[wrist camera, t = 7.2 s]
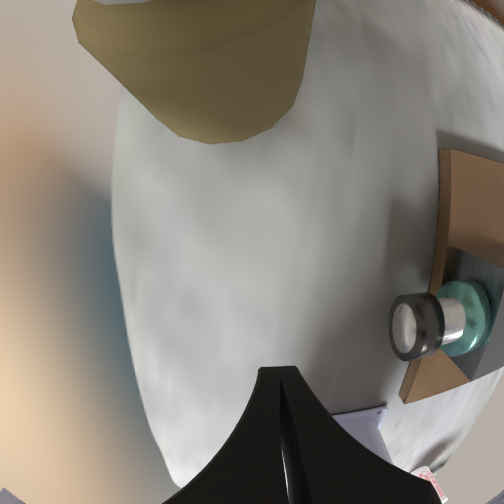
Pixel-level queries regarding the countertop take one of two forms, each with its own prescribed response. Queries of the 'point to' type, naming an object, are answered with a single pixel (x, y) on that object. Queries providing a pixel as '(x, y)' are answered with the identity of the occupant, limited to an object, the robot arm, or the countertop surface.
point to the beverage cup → (427, 475)
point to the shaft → (440, 321)
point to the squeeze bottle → (202, 59)
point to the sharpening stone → (465, 267)
